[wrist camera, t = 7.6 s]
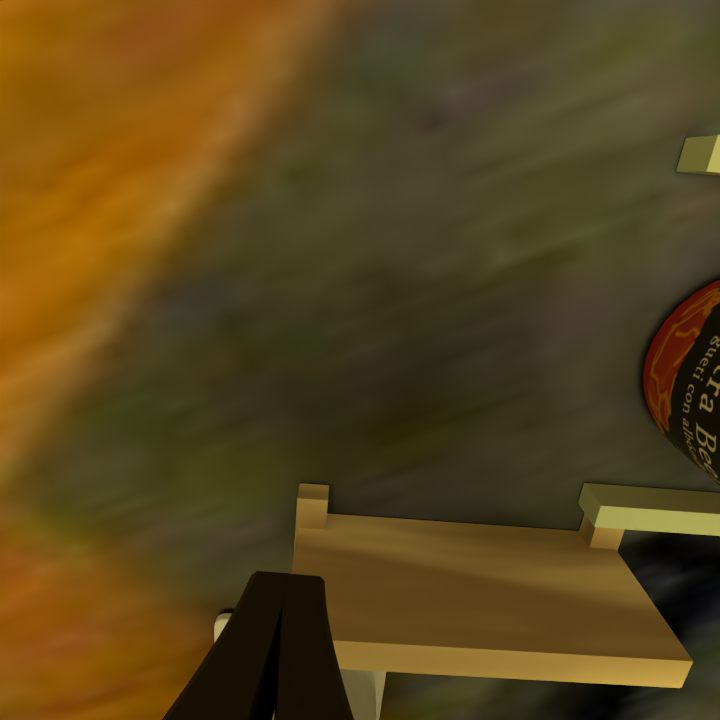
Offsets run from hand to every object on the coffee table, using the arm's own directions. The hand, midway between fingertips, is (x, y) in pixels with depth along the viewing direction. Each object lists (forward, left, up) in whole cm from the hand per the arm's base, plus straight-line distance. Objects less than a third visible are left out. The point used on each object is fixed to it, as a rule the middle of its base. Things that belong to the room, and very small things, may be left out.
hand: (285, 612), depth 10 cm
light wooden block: (-6, -6, -10) cm, 13 cm away
